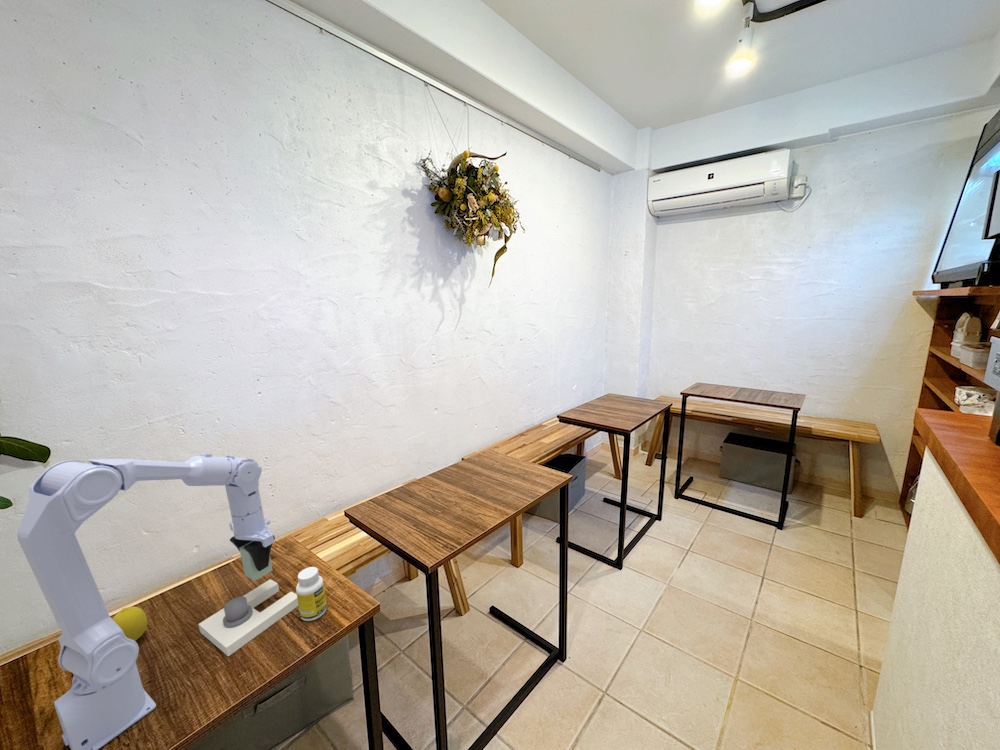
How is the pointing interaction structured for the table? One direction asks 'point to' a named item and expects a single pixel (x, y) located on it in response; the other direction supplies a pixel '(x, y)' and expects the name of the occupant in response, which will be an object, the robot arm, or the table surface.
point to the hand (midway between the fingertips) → (257, 565)
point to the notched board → (246, 617)
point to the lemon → (131, 622)
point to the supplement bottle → (311, 594)
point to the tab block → (252, 565)
